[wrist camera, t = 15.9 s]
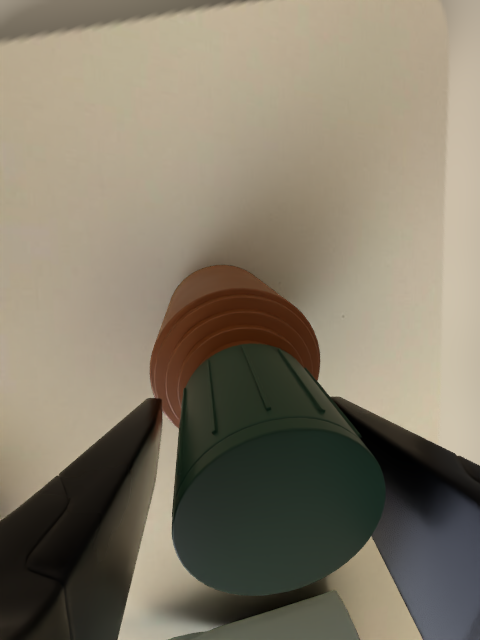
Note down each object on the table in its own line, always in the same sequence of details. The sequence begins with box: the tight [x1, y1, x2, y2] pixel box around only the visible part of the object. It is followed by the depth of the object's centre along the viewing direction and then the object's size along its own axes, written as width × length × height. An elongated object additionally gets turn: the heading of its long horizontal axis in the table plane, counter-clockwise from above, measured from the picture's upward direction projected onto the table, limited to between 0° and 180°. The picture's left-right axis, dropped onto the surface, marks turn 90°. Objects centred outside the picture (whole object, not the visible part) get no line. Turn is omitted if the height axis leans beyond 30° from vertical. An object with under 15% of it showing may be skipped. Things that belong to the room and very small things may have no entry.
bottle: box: [150, 265, 320, 428], centre depth 11 cm, size 6×6×12 cm
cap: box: [172, 343, 386, 596], centre depth 7 cm, size 4×4×4 cm
